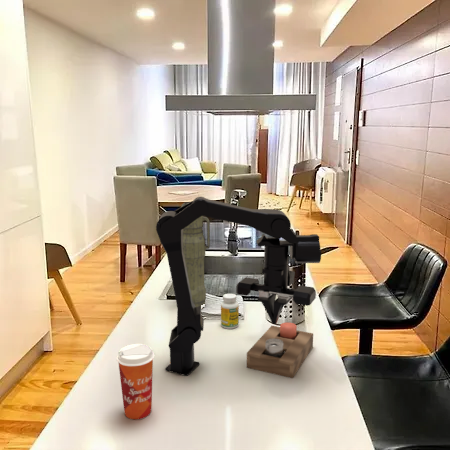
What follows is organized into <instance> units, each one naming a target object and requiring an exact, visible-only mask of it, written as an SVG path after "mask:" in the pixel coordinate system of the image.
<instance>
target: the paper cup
mask: <svg viewBox="0 0 450 450" xmlns="http://www.w3.org/2000/svg"><path fill="white" fill-rule="evenodd" d="M155 356H156V354H155V352H154V349H152V348H151V347H150V346H149V345H147V344H144V343H143V344H142V343H134V344H128V345H126V346H123V347H122V348H120V350H119V352H118V355H117V356H116V361H117V363H118V370H119V379H120V387H121V393H122V401H123V402H122V403H123V410H124V415H125V417H126V418H128V419H129V420H142V419H145V418H147V417H149V416H150V415H151V412H152V403H153V402H152V401H153V369H154V368H153V367H154V365H153V364H154V363H153V362H154V361H153V360H154V358H155Z"/></svg>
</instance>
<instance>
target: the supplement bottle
mask: <svg viewBox="0 0 450 450" xmlns="http://www.w3.org/2000/svg"><path fill="white" fill-rule="evenodd" d="M222 300H223V301H222V302H221V303H220V325H221V327H222V328H224V329H225V330H226V329H227V330H233V329H236V328H238V326H239V318H240V317H239V316H240V315H239V313H240V312H239V307H240V306H239V303H238V301H237V295H236V294H235V293H225V294H223V295H222Z"/></svg>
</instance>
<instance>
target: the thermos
mask: <svg viewBox="0 0 450 450" xmlns="http://www.w3.org/2000/svg"><path fill="white" fill-rule="evenodd" d="M190 202H191V201H186V202H183V203H181V206H180V207H182V206H184V205H186V204H188V203H190ZM204 221H206V225H207V226H206V231H207V232H206V235H207V237H206V239H207V241H206V239H205V236H204V235H205V234H204ZM210 225H211V224H210V220H209V217H206V216H201V217H199V218H198V219H196V220H195V221H194V222H192V223H191V224H189V225H188V226H187V227H185V228H184V229H183V253H184V258H185V264H186V269H187V274H188V279H189V285H190V290H191V295H192V300H193V303H194V305H195V307H198V306H201V305H203V304H205V303H206V301H207V288H206V286H205V256H206V250H209V249H210V245H211V244H210V243H211V229H210V228H211V227H210ZM206 242H207V244H206Z"/></svg>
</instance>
